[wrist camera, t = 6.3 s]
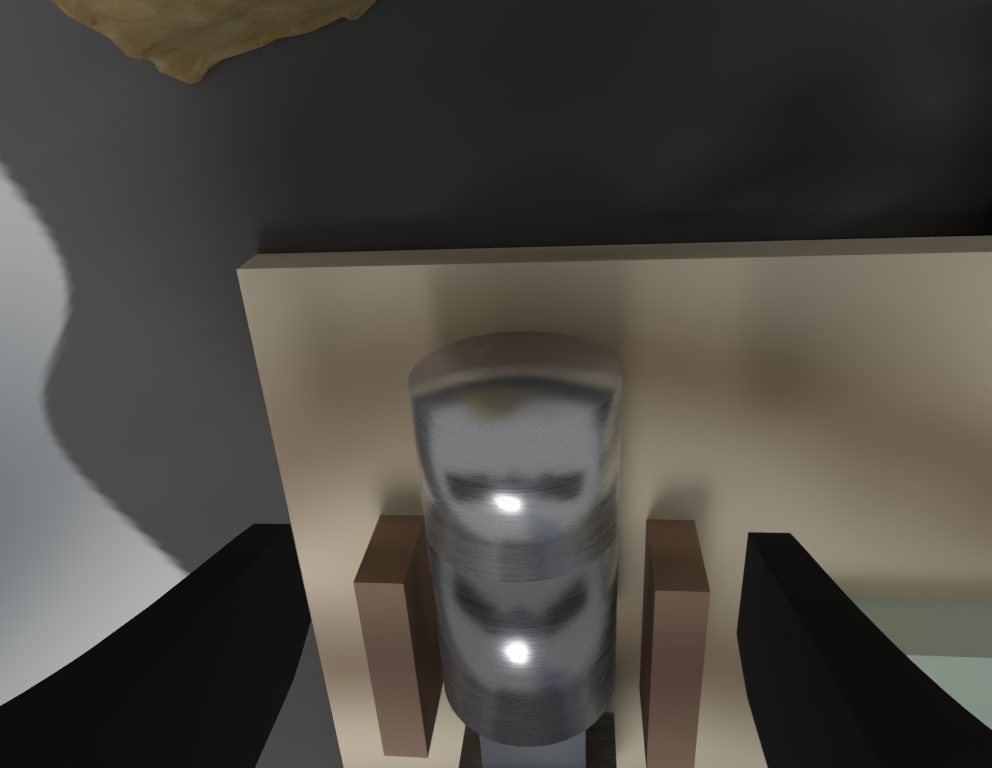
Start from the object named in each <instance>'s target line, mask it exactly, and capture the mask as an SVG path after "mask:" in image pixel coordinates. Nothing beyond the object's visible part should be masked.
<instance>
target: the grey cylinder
mask: <svg viewBox="0 0 992 768" xmlns="http://www.w3.org/2000/svg"><path fill="white" fill-rule="evenodd" d="M408 386H409V395H410V403H411V412H412V420H413V428H414V437H415V445H416V454H417V462H418V470H419V479H420V487H421V496H422V504H423V512H424V521H425V529H426V538H427V546H428V555H429V563H430V571H431V580H432V588H433V597H434V605H435V613H436V622H437V630H438V639H439V647H440V655H441V664H442V672H443V681H444V688H445V693H446V696H447V700H448V702H449V704H450V706H451V708H452V710H453V711H454V712H455V714H456V715H457V717H458V718H459V719H460V720H461V721H462V722H463V723H464V724H465V725H466V726H468V727H469V728H470V729H472V730H473V731H474V732H476V733H478V734H479V735H481V736H483V737H485V738H488V739H490V740H492V741H495V742H498V743H502V744H506V745H512V746H518V747H538V746H546V745H551V744H556V743H559V742H562V741H565V740H568V739H570V738H572V737H574V736H577V735H578V734H580V733H582V732H583V731H585V730H586V729H588V728H589V727H590V726H591V725H593V724H594V723H595V722H596V721H597V720H598V719H599V718H600V717H601V715H602V714H603V713H604V711H605V710H606V708H607V707H608V705H609V703H610V701H611V698H612V696H613V692H614V688H615V675H616V629H617V582H618V535H619V489H620V442H621V396H622V371H621V367H620V365H619V362H618V361H617V360H616V359H615V357H614V356H613V355H611V354H610V353H609V352H608V351H606V350H605V349H603V348H601V347H599V346H597V345H595V344H593V343H591V342H588V341H585V340H582V339H578V338H575V337H571V336H566V335H560V334H553V333H543V332H506V333H496V334H488V335H482V336H477V337H473V338H468V339H464V340H461V341H458V342H454V343H452V344H449V345H446V346H444V347H442V348H440V349H437V350H435V351H434V352H432V353H430V354H428V355H427V356H426V357H424V358H423V359H421V360H420V361H419V362H418V363H417V364H416V365H415V367H414V368H413V369H412V371H411V373H410V375H409V379H408Z"/></svg>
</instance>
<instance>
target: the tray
mask: <svg viewBox="0 0 992 768" xmlns="http://www.w3.org/2000/svg"><path fill="white" fill-rule="evenodd" d="M850 599H851V600H852V601H853V602H854V603H855V604H856V605H857V606H858V607H859V609H860V610H861V611H862V612H863V613H864V614H865V615H866V616H867V617H868V618H869V619H870V620H871V621H872V622H873V623H874V624H875V625H876V626H877V627H878V628H879V629H880V630H881V631H882V632H883V633H884V634H885V635H886V636H887V637H888V638H889V639H890V640H891V641H892V642H893V643H894V644H895V645H896V646H897V647H898V648H899V649H900V650H901V651H902V652H903V653H904V654H905V655H906V656H907V657H908V658H909V659H910V660H911V661H912V662H913V663H915V664H916V665H917V666H918V667H919V668H920V669H921V670H922V671H923V672H924V673H926V674H927V675H928V676H929V677H930V678H931V679H932V680H933V681H934V682H935V683H936V684H938V685H939V686H940V687H941V688H942V689H943V690H944V691H945V692H946V693H948V694H949V695H950V696H951V697H952V698H953V699H955V700H956V701H957V702H958V703H959V704H961V705H962V706H963V707H964V708H965V709H966V710H968V711H969V712H970V713H971V714H973V715H974V716H975V717H976V718H978V719H979V720H980V721H981V722H983V723H984V724H985V725H986V726H988V727H989V728H990V729H991V730H992V602H989V601H952V600H916V599H879V598H850Z"/></svg>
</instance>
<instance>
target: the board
mask: <svg viewBox="0 0 992 768" xmlns="http://www.w3.org/2000/svg"><path fill="white" fill-rule="evenodd" d="M236 270H237V274H238V279H239V284H240V288H241V293H242V298H243V302H244V307H245V311H246V316H247V321H248V325H249V330H250V335H251V339H252V344H253V349H254V353H255V358H256V362H257V367H258V372H259V376H260V381H261V386H262V390H263V395H264V400H265V404H266V409H267V414H268V418H269V423H270V427H271V432H272V437H273V441H274V446H275V451H276V455H277V460H278V465H279V469H280V474H281V478H282V483H283V488H284V492H285V497H286V502H287V506H288V511H289V516H290V520H291V525H292V529H293V534H294V539H295V543H296V548H297V553H298V557H299V562H300V567H301V571H302V576H303V580H304V585H305V590H306V594H307V599H308V604H309V608H310V613H311V618H312V622H313V627H314V631H315V636H316V641H317V645H318V650H319V655H320V659H321V664H322V669H323V673H324V678H325V682H326V687H327V692H328V696H329V701H330V706H331V710H332V715H333V720H334V724H335V729H336V734H337V738H338V743H339V747H340V752H341V757H342V761H343V766H344V768H459V762H460V756H461V750H462V743H463V737H464V731H465V724H464V723H463V722H462V721H461V720H460V719H459V718H458V717H457V715H456V714H455V712H454V711H453V710H452V708H451V706H450V704H449V702H448V700H447V696H446V693H445V688H444V682H443V687H442V692H441V696H440V701H439V706H438V711H437V716H436V721H435V726H434V731H433V735H432V740H431V745H430V750H429V755H428V758H418V757H399V756H384V752H383V746H382V741H381V735H380V730H379V724H378V718H377V713H376V707H375V702H374V696H373V690H372V685H371V679H370V673H369V668H368V662H367V657H366V651H365V645H364V640H363V634H362V629H361V623H360V617H359V612H358V606H357V601H356V595H355V589H354V584H353V582H354V579H355V577H356V574H357V572H358V569H359V567H360V564H361V562H362V559H363V557H364V554H365V552H366V549H367V547H368V544H369V542H370V539H371V537H372V534H373V532H374V529H375V527H376V524H377V522H378V519H379V517H380V515H414V516H424V512H423V504H422V496H421V487H420V479H419V470H418V462H417V454H416V445H415V437H414V428H413V420H412V412H411V403H410V395H409V386H408V379H409V375H410V373H411V371H412V369H413V368H414V367H415V365H416V364H417V363H418V362H419V361H420V360H421V359H423V358H424V357H426V356H427V355H428V354H430V353H432V352H434V351H435V350H437V349H440V348H442V347H444V346H446V345H449V344H452V343H454V342H458V341H461V340H464V339H468V338H473V337H477V336H482V335H488V334H496V333H506V332H543V333H553V334H560V335H566V336H571V337H575V338H578V339H582V340H585V341H588V342H591V343H593V344H595V345H597V346H599V347H601V348H603V349H605V350H606V351H608V352H609V353H610V354H611V355H613V356H614V357H615V359H616V360H617V361H618V362H619V365H620V367H621V371H622V396H621V442H620V489H619V535H618V582H617V629H616V675H615V688H614V692H613V696H612V698H611V701H610V703H609V705H608V707H607V708H606V710H605V711H604V712H608V713H614V721H615V742H616V763H617V768H646V761H645V749H644V737H643V726H642V714H641V702H640V690H639V682H640V658H641V634H642V610H643V585H644V561H645V537H646V519H658V520H694V521H695V525H696V530H697V534H698V539H699V543H700V548H701V552H702V557H703V561H704V566H705V570H706V575H707V579H708V584H709V588H710V601H709V612H708V623H707V634H706V645H705V656H704V666H703V677H702V688H701V699H700V710H699V721H698V731H697V742H696V753H695V764H694V768H768V767H767V763H766V760H765V757H764V753H763V750H762V747H761V743H760V740H759V736H758V733H757V730H756V726H755V723H754V719H753V716H752V712H751V709H750V705H749V702H748V698H747V693H746V688H745V682H744V677H743V671H742V665H741V659H740V653H739V647H738V641H737V635H736V632H737V624H738V615H739V607H740V598H741V590H742V581H743V573H744V564H745V556H746V547H747V539H748V532H765V533H791V534H792V535H793V536H794V537H795V538H796V539H797V540H798V542H799V543H800V544H801V545H802V546H803V547H804V548H805V549H806V550H807V552H808V553H809V554H810V555H811V556H812V557H813V558H814V559H815V561H816V562H817V563H818V564H819V565H820V566H821V567H822V568H823V569H824V571H825V572H826V573H827V574H828V575H829V576H830V577H831V578H832V579H833V581H834V582H835V583H836V584H837V585H838V586H839V587H840V588H841V589H842V590H843V591H844V593H845V594H846V595H847V596H848V597H849V598H879V599H916V600H952V601H989V602H992V235H991V236H952V237H912V238H872V239H833V240H793V241H753V242H714V243H674V244H634V245H595V246H555V247H515V248H476V249H436V250H397V251H357V252H317V253H278V254H256V255H255V256H253V257H252V258H251V259H249V260H248V261H247V262H245V263H244V264H243V265H241V266H240V267H239V268H237V269H236Z"/></svg>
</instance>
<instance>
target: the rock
mask: <svg viewBox="0 0 992 768" xmlns="http://www.w3.org/2000/svg"><path fill="white" fill-rule="evenodd" d="M50 1H52V2H53V3H55V4H56V5H57V6H58V7H59V8H60V9H61V10H63V11H64V12H65V13H66V14H67V15H68V16H69V17H70V18H72V19H74V20H76V21H78V22H80V23H82V24H84V25H86V26H88V27H90V28H92V29H94V30H96V31H98V32H100V33H102V34H104V35H105V36H106V37H107V38H109V39H110V40H111V41H112V42H113V43H114V44H115V45H117V46H118V47H119V48H120V49H121V50H122V52H123V53H124V54H125V55H126V56H129V57H132V58H135V59H138V60H144V59H146V58H147V59H148V60H150V61H151V62H153V63H154V64H155V66H156V68H157V69H158V71H159V72H161V73H163V74H166V75H169V76H172V77H174V78H176V79H178V80H181V81H183V82H185V83H188V84H194V83H197V82H199V81H201V80H202V78H203V77H204V76H205V74H206V73H207V72H208V71H209V69H210V68H211V67H212V66H214V65H215V64H216V63H218V62H219V61H221V60H223V59H226V58H230V57H233V56H237V55H240V54H243V53H246V52H249V51H252V50H255V49H257V48H260V47H263V46H266V45H267V44H269V43H271V42H272V41H274V40H275V39H279V38H283V37H291V36H296V35H300V34H306V33H310V32H313V31H315V30H317V29H319V28H321V27H323V26H325V25H327V24H329V23H331V22H333V21H335V20H337V19H339V18H341V17H344V18H348V19H349V20H350V21H351V20H355V19H358V18H360V17H361V16H362V15H363V14H364V13H365V12H366V11H367V10H368V9H369V8H370V7H371V6H372V5H373V4H374V3H375V2H376V1H377V0H50Z"/></svg>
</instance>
